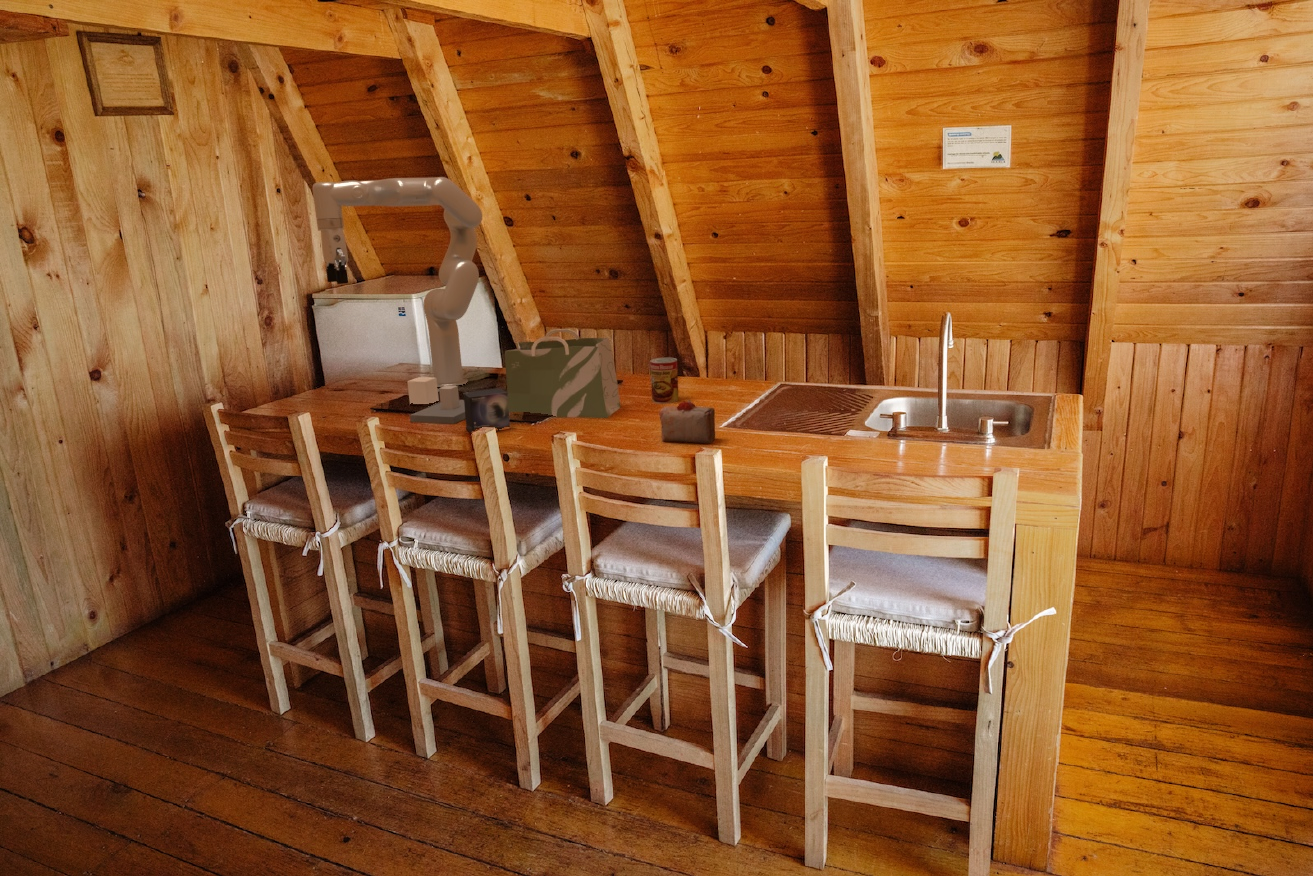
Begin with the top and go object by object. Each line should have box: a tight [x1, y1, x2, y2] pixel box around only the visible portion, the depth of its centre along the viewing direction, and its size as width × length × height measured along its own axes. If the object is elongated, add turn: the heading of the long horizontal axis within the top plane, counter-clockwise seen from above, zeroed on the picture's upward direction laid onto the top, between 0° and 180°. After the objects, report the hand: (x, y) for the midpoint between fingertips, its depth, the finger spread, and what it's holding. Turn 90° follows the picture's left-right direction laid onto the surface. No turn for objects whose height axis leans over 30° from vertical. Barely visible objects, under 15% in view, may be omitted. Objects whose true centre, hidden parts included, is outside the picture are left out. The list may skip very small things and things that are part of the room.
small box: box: [463, 387, 511, 434], centre depth 253 cm, size 11×6×10 cm, turn 117°
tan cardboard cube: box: [407, 376, 440, 405], centre depth 288 cm, size 6×6×8 cm
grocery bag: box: [504, 328, 622, 419], centre depth 268 cm, size 32×14×23 cm, turn 73°
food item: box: [658, 399, 716, 444], centre depth 234 cm, size 14×8×10 cm, turn 71°
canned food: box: [649, 357, 679, 404], centre depth 278 cm, size 8×8×12 cm
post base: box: [409, 386, 466, 425], centre depth 272 cm, size 20×14×8 cm
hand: (337, 282), depth 288 cm, fingers open, 9 cm apart
